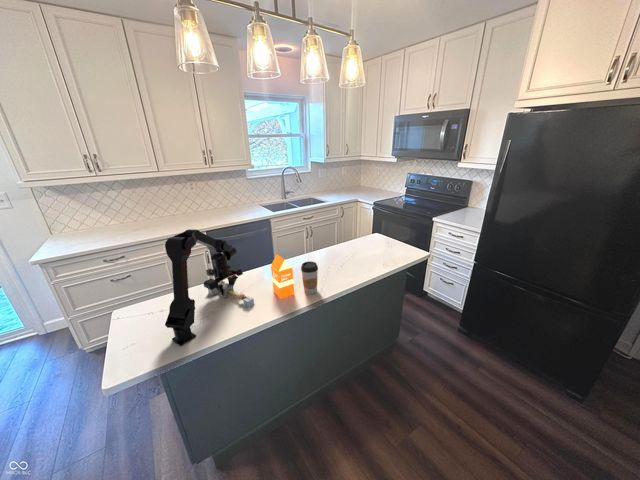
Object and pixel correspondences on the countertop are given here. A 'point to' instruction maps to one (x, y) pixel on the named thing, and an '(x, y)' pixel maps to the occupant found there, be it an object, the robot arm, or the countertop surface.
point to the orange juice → (282, 277)
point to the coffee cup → (309, 277)
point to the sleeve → (227, 287)
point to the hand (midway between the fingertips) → (226, 292)
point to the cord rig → (247, 300)
